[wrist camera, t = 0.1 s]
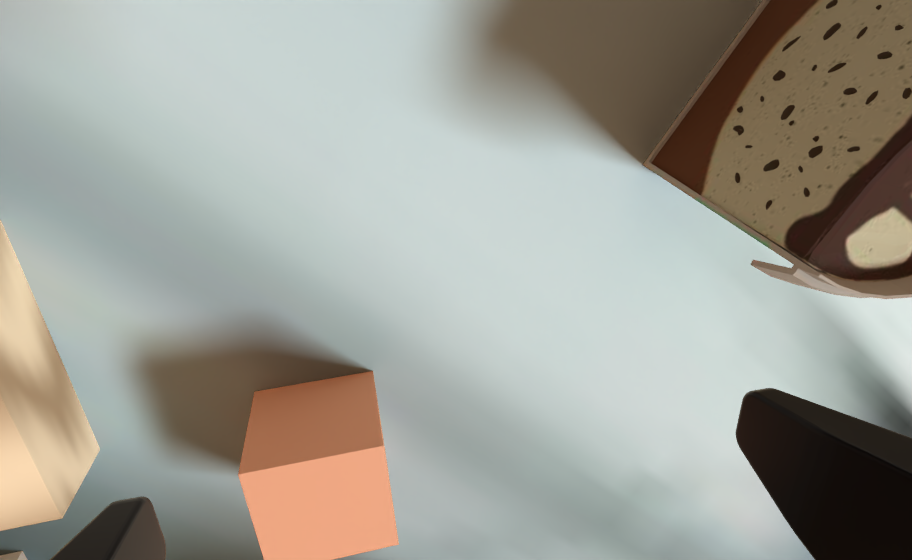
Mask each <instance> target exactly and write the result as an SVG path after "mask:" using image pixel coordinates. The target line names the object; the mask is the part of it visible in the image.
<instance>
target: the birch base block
mask: <svg viewBox="0 0 912 560" xmlns="http://www.w3.org/2000/svg"><path fill="white" fill-rule="evenodd" d="M99 451H100V448H99V446H98V443H97V441H96V439H95V436H94V434H93V432H92V429H91V427H90V425H89V423H88V420H87V418H86V416H85V413H84V411H83V409H82V406H81V404H80V402H79V400H78V397H77V395H76V393H75V390H74V388H73V386H72V383H71V381H70V379H69V376H68V374H67V372H66V370H65V367H64V365H63V363H62V360H61V358H60V356H59V353H58V351H57V349H56V346H55V344H54V342H53V340H52V337H51V335H50V333H49V330H48V328H47V326H46V323H45V321H44V319H43V316H42V314H41V312H40V310H39V307H38V305H37V303H36V300H35V298H34V296H33V293H32V291H31V289H30V287H29V284H28V282H27V280H26V277H25V275H24V273H23V270H22V268H21V266H20V263H19V261H18V259H17V257H16V254H15V252H14V250H13V247H12V245H11V243H10V240H9V238H8V236H7V233H6V231H5V229H4V227H3V224H2V222H1V220H0V531H2V530H7V529H12V528H17V527H22V526H27V525H32V524H37V523H42V522H47V521H52V520H57V519H62V518H63V516H64V515H65V513H66V511H67V509H68V507H69V505H70V504H71V502H72V500H73V498H74V496H75V494H76V493H77V491H78V489H79V487H80V485H81V483H82V482H83V480H84V478H85V476H86V474H87V472H88V471H89V469H90V467H91V465H92V463H93V462H94V460H95V458H96V456H97V454H98V452H99Z"/></svg>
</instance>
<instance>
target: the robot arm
mask: <svg viewBox="0 0 912 560" xmlns="http://www.w3.org/2000/svg"><path fill="white" fill-rule="evenodd" d="M736 439H737V442H738V445H739V447H740V449H741V450H742V452H743V454H744V455H745V457H746V458H747V460H748V461H749V463H750V465H751V466H752V468H753V469H754V471H755V472H756V474H757V475H758V477H759V479H760V480H761V482H762V483H763V485H764V486H765V488H766V489H767V491H768V493H769V494H770V496H771V497H772V499H773V500H774V502H775V504H776V505H777V507H778V508H779V510H780V511H781V513H782V514H783V516H784V518H785V519H786V521H787V522H788V524H789V525H790V526H791V528H792V529H793V531H794V532H795V534H796V535H797V536H798V538H799V539H800V540H801V542H802V543H803V545H804V546H805V547H806V549H807V550H808V551H809V552H810V554H811V555H812V556H813V558H814V559H815V560H912V438H910V437H907V436H904V435H901V434H899V433H896V432H893V431H890V430H888V429H885V428H882V427H879V426H877V425H874V424H871V423H868V422H865V421H863V420H860V419H857V418H854V417H852V416H849V415H846V414H843V413H840V412H838V411H835V410H832V409H829V408H827V407H824V406H821V405H818V404H815V403H813V402H810V401H807V400H804V399H802V398H799V397H796V396H793V395H790V394H788V393H785V392H782V391H779V390H777V389H773V388H766V389H760V390H754V391H750V392H748V393H746V395H745V396H744V397H743V401H742V405H741V410H740V414H739V419H738V424H737V428H736ZM165 553H166V549H165V540H164V537H163V534H162V531H161V528H160V525H159V522H158V520H157V517H156V514H155V511H154V508H153V505H152V503H151V501H150V500H149V499H148V498H146V497H136V498H130V499H124V500H119V501H116V502H113V503H111V504H110V505H109V506H107V507H106V508H105V509H104V510H103V511H102V512H101V513H100V514H99V515H98V516H97V517H95V518H94V519H93V520H92V521H91V522H90V523H89V524H88V525H87V526H86V527H85V528H84V529H83V530H81V531H80V532H79V533H78V534H77V535H76V536H75V537H74V538H73V539H72V540H71V541H70V542H69V543H67V544H66V545H65V546H64V547H63V548H62V549H61V550H60V551H59V552H58V553H57V554H56V555H54V556H53V557H52V558H51V559H50V560H165Z"/></svg>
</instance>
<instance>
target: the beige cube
mask: <svg viewBox="0 0 912 560" xmlns="http://www.w3.org/2000/svg"><path fill="white" fill-rule="evenodd" d="M0 560H27V558H26V556H25V554H24V553H23V551H19V552H15V553H10V554H5V555H0Z"/></svg>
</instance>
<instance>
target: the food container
mask: <svg viewBox="0 0 912 560" xmlns="http://www.w3.org/2000/svg"><path fill="white" fill-rule="evenodd" d="M643 165H644V166H645V167H647V168H648V169H650V170H651V171H653V172H654V173H656V174H657V175H659V176H660V177H662V178H663V179H665V180H666V181H668V182H669V183H671V184H672V185H674V186H675V187H677V188H678V189H680V190H682V191H683V192H685V193H686V194H688V195H689V196H691V197H692V198H694V199H695V200H697V201H698V202H700V203H701V204H703V205H704V206H706V207H707V208H709V209H710V210H712V211H713V212H715V213H716V214H718V215H720V216H721V217H723V218H724V219H726V220H727V221H729V222H730V223H732V224H733V225H735V226H736V227H738V228H739V229H741V230H742V231H744V232H745V233H747V234H748V235H750V236H751V237H753V238H754V239H756V240H758V241H759V242H761V243H762V244H764V245H765V246H767V247H768V248H770V249H771V250H773V251H774V252H776V253H777V254H779V255H780V256H782V257H783V258H785V259H786V260H788V261H789V262H791V263H792V264H794V266H793V267H792V268H787V267H783V266H778V265H774V264H769V263H765V262H761V261H756V260H753V261H752V263H751V265H752V266H754V267H755V268H757V269H759V270H761V271H762V272H764V273H766V274H768V275H769V276H771V277H774V278H777V279H780V280H783V281H787V282H790V283H793V284H796V285H800V286H804V287H807V288H811V289H815V290H819V291H823V292H827V293H831V294H834V295H841V296H849V297H857V298H868V297H873V298H882V299H893V298H908V297H912V0H762V2H761V3H760V4H759V6H758V7H757V9H756V10H755V11H754V13H753V14H752V15H751V17H750V18H749V20H748V21H747V22H746V24H745V25H744V26H743V28H742V29H741V31H740V32H739V33H738V35H737V36H736V37H735V39H734V40H733V41H732V43H731V44H730V46H729V47H728V48H727V50H726V51H725V52H724V54H723V55H722V57H721V58H720V59H719V61H718V62H717V63H716V65H715V66H714V67H713V69H712V70H711V72H710V73H709V74H708V76H707V77H706V78H705V80H704V81H703V83H702V84H701V85H700V87H699V88H698V89H697V91H696V92H695V94H694V95H693V96H692V98H691V99H690V100H689V102H688V103H687V104H686V106H685V107H684V109H683V110H682V111H681V113H680V114H679V115H678V117H677V118H676V120H675V121H674V122H673V124H672V125H671V126H670V128H669V129H668V130H667V132H666V133H665V135H664V136H663V137H662V139H661V140H660V141H659V143H658V144H657V146H656V147H655V148H654V150H653V151H652V152H651V154H650V155H649V157H648V158H647V159H646V161H645V162H644V163H643Z"/></svg>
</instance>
